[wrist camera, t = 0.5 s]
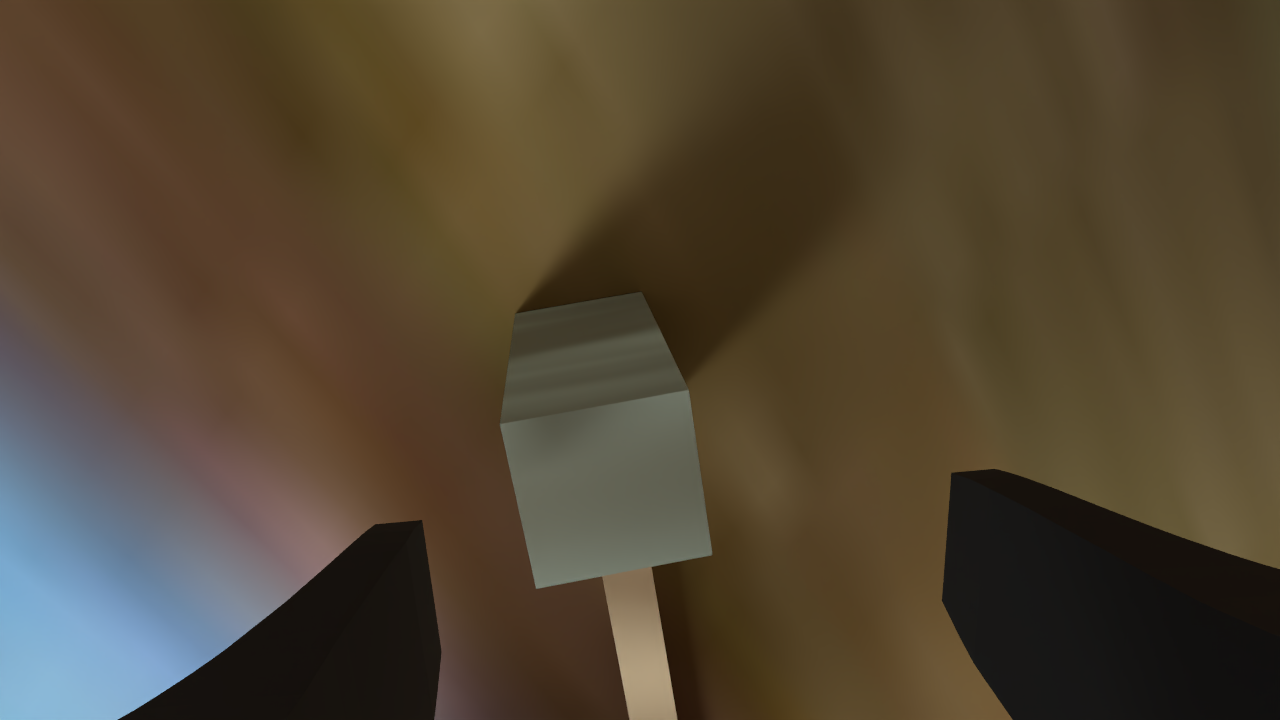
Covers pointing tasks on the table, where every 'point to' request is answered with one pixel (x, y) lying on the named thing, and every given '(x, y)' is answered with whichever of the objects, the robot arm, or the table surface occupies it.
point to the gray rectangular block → (606, 469)
